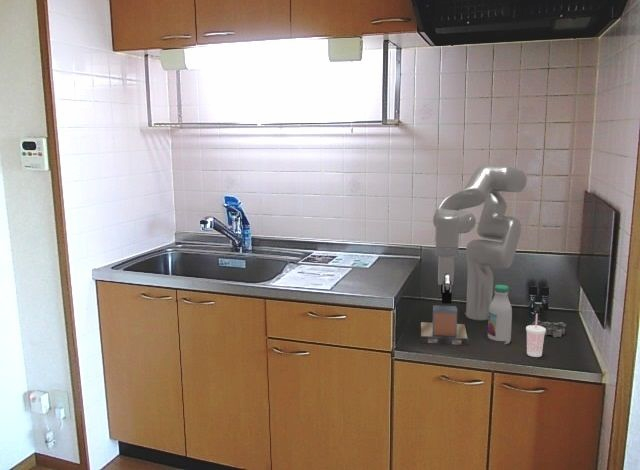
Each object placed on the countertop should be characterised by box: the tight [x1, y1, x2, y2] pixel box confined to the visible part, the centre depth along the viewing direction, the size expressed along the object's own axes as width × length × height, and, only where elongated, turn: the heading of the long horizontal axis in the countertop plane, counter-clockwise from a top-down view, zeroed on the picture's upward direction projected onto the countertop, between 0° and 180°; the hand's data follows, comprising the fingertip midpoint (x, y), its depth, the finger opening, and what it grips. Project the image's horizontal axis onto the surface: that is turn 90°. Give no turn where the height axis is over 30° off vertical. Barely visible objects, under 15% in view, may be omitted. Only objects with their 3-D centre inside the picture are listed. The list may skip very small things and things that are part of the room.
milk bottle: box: [487, 284, 513, 345], centre depth 194 cm, size 8×8×20 cm
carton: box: [432, 304, 458, 338], centre depth 194 cm, size 8×5×11 cm, turn 80°
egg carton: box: [531, 319, 567, 338], centre depth 203 cm, size 11×8×4 cm
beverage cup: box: [525, 313, 546, 358], centre depth 183 cm, size 6×6×14 cm
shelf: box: [420, 321, 470, 346], centre depth 200 cm, size 16×20×4 cm
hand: (446, 298), depth 193 cm, fingers open, 9 cm apart
